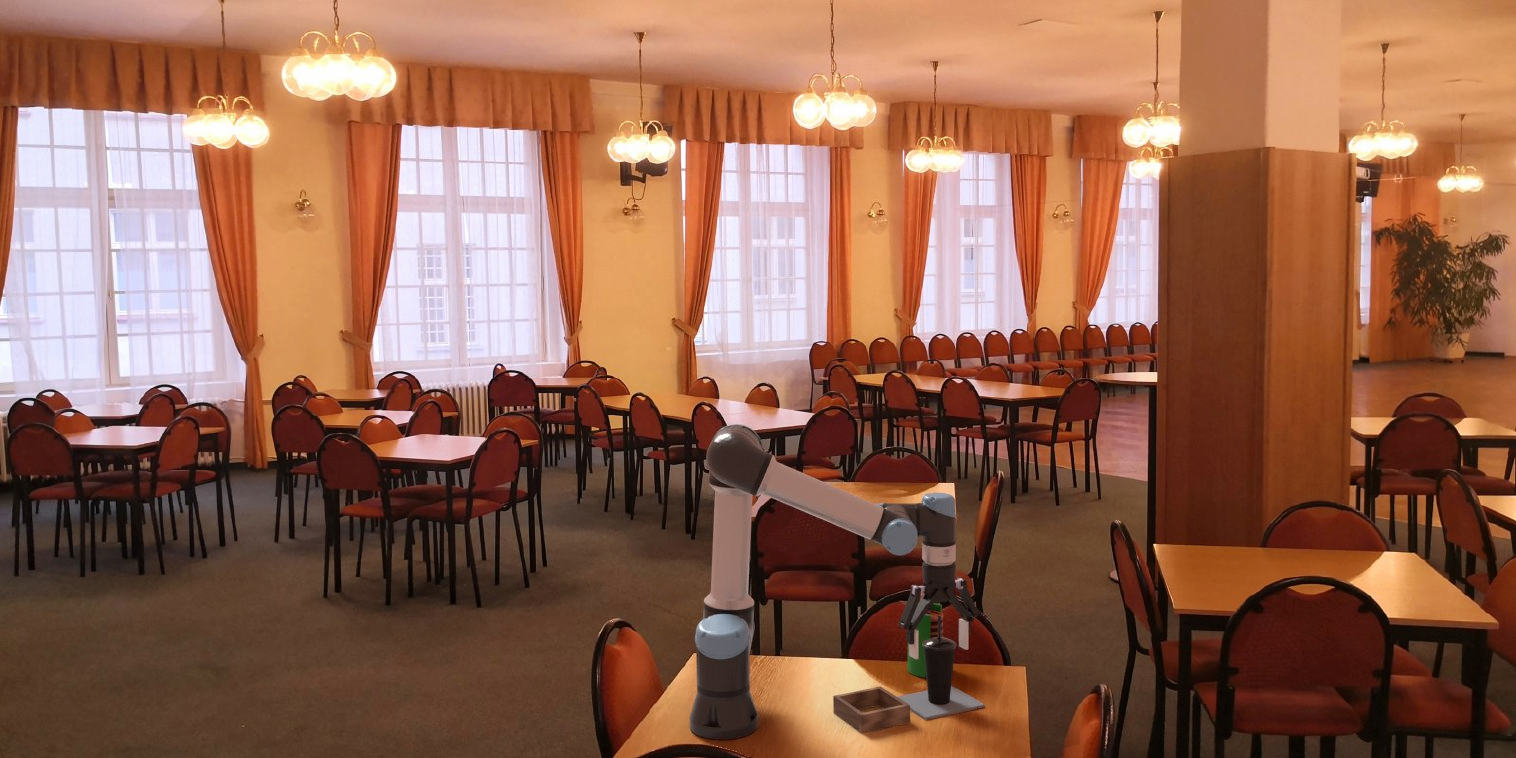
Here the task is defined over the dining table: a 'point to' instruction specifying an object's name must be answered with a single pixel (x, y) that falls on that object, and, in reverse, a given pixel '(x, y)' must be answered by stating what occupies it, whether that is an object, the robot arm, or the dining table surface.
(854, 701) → the walnut collar
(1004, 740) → the dining table surface
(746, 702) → the robot arm
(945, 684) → the drinking cup
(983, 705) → the slate mat
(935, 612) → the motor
